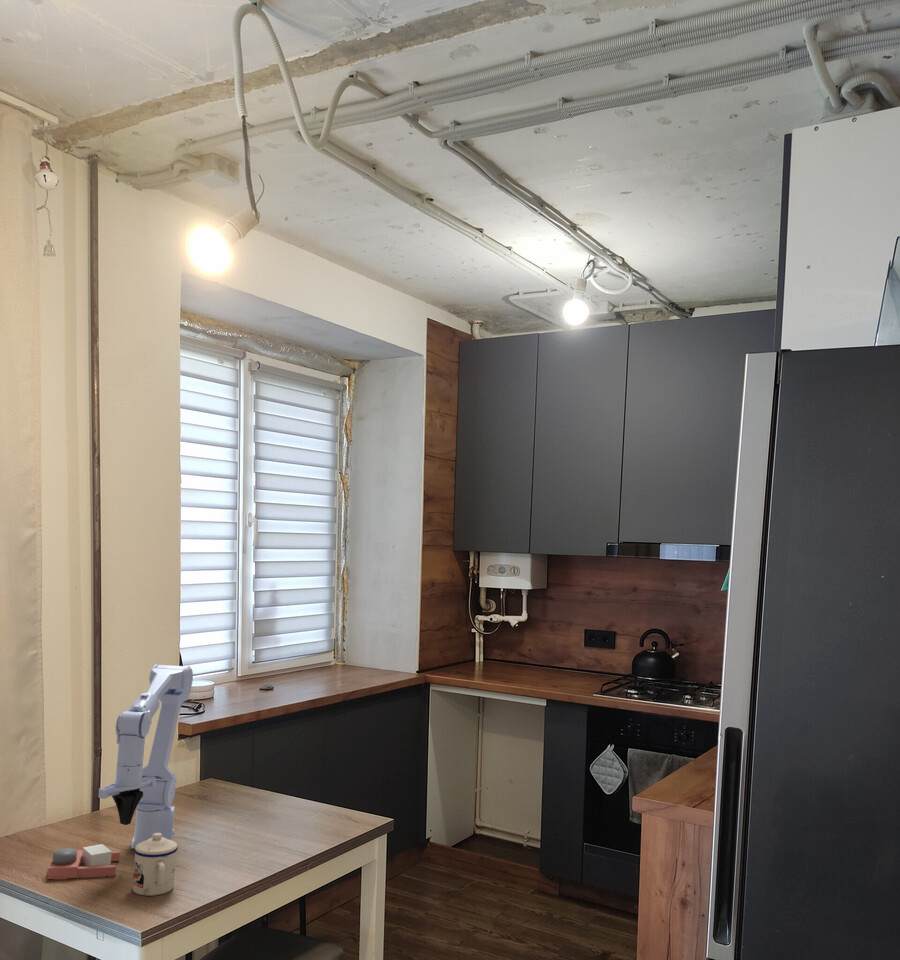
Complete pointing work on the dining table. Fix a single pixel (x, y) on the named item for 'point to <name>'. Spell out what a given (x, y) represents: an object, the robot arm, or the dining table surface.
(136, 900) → the dining table surface
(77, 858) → the pink u-shaped block
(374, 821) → the dining table surface
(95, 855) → the white rectangular block
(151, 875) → the teacup with lid
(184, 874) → the dining table surface
